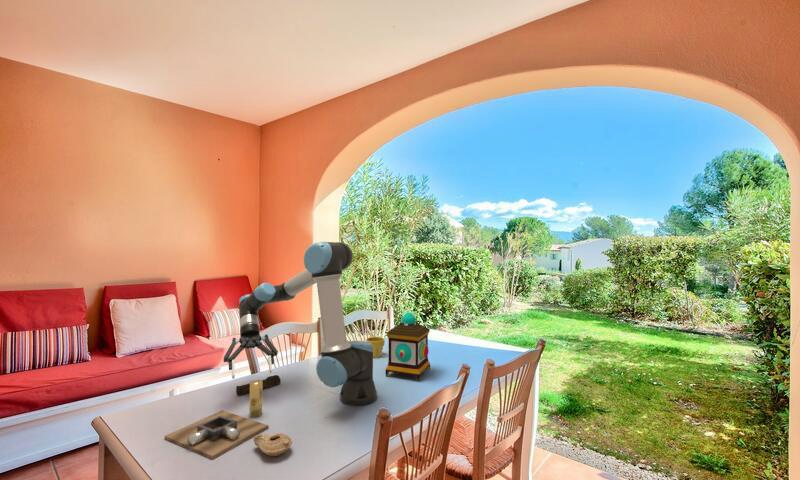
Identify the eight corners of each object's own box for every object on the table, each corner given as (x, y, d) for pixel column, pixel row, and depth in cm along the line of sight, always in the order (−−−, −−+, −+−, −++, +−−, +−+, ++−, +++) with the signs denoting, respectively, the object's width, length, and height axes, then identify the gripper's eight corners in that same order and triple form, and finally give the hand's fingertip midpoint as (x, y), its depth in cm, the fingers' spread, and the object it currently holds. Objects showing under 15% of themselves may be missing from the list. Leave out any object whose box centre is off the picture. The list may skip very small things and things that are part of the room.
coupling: (264, 413, 138) (265, 381, 138) (255, 418, 134) (255, 385, 134) (256, 411, 140) (256, 379, 140) (246, 415, 136) (247, 383, 136)
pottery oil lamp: (264, 439, 119) (275, 418, 120) (287, 463, 113) (299, 441, 114) (243, 442, 111) (255, 420, 113) (267, 468, 105) (280, 444, 106)
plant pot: (383, 359, 204) (383, 341, 204) (365, 358, 204) (365, 341, 204) (384, 353, 214) (384, 336, 214) (367, 353, 215) (367, 336, 215)
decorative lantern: (381, 377, 176) (381, 314, 177) (397, 364, 195) (397, 307, 195) (421, 383, 169) (421, 317, 169) (433, 370, 187) (434, 310, 187)
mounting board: (268, 428, 127) (268, 425, 127) (212, 459, 108) (212, 456, 108) (222, 412, 138) (222, 410, 138) (164, 439, 119) (164, 435, 119)
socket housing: (247, 433, 121) (247, 424, 121) (209, 454, 109) (209, 443, 109) (220, 424, 127) (220, 415, 127) (182, 442, 116) (182, 432, 116)
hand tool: (238, 397, 153) (238, 386, 153) (235, 394, 156) (235, 383, 156) (282, 386, 165) (282, 376, 165) (279, 383, 168) (279, 373, 168)
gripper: (279, 329, 165) (284, 374, 152) (216, 335, 154) (216, 384, 140) (281, 320, 161) (286, 365, 147) (217, 325, 149) (216, 374, 136)
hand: (252, 374), depth 144 cm, fingers open, 13 cm apart
